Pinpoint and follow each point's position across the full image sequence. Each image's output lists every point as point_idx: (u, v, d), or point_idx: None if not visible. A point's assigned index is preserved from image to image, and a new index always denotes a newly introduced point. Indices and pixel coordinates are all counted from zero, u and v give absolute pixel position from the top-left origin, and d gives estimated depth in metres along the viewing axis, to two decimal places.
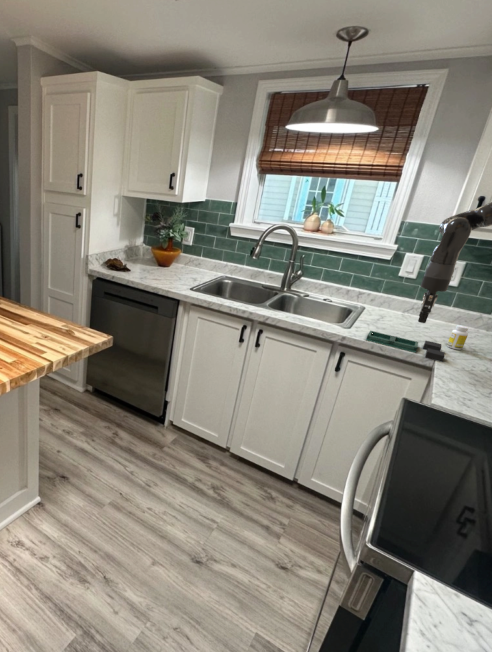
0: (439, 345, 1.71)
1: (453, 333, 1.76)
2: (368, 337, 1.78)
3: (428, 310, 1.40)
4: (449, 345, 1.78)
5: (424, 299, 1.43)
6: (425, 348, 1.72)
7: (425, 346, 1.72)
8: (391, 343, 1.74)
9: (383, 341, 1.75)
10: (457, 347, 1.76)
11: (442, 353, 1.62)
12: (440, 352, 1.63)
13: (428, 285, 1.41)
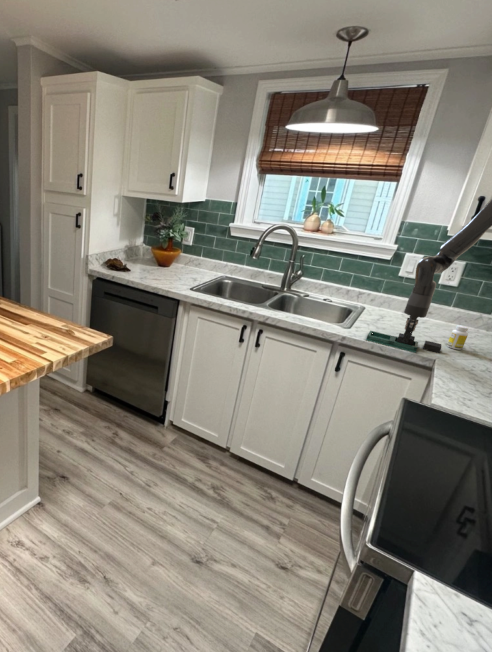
0: (439, 345, 1.71)
1: (453, 333, 1.76)
2: (368, 337, 1.78)
3: (409, 334, 1.68)
4: (449, 345, 1.78)
5: (407, 324, 1.70)
6: (425, 348, 1.72)
7: (425, 346, 1.72)
8: (391, 343, 1.74)
9: (383, 341, 1.75)
10: (457, 347, 1.76)
11: (412, 337, 1.72)
12: (411, 336, 1.73)
13: (410, 312, 1.68)
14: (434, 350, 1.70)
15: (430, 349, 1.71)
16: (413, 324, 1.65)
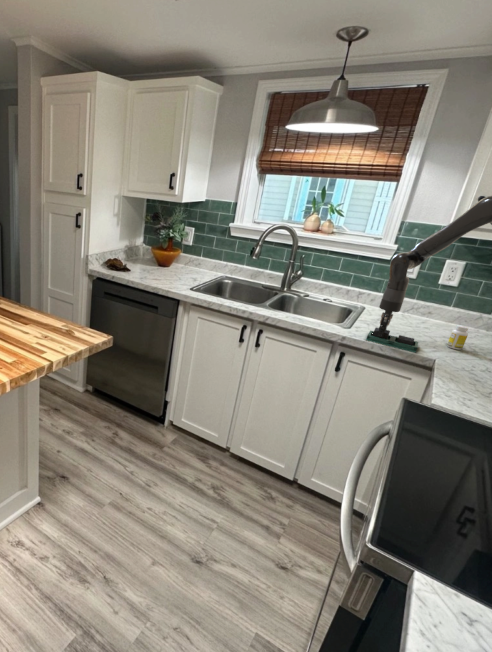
0: (387, 331, 1.77)
1: (453, 333, 1.76)
2: (368, 337, 1.78)
3: (384, 328, 1.73)
4: (449, 345, 1.78)
5: (381, 318, 1.75)
6: (374, 334, 1.78)
7: (374, 333, 1.78)
8: (391, 343, 1.74)
9: (383, 341, 1.75)
10: (457, 347, 1.76)
11: (412, 339, 1.72)
12: (410, 338, 1.73)
13: (384, 307, 1.73)
14: None
15: None
16: (387, 318, 1.71)
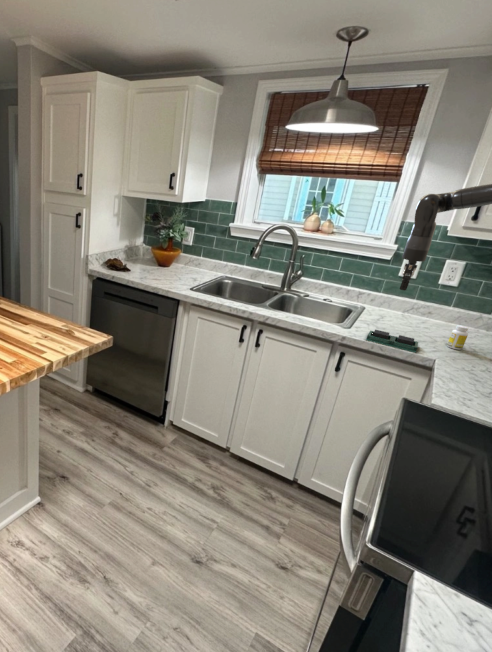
0: (387, 334, 1.77)
1: (453, 333, 1.76)
2: (368, 337, 1.78)
3: (408, 278, 1.56)
4: (449, 345, 1.78)
5: (405, 269, 1.59)
6: None
7: (374, 335, 1.78)
8: (391, 343, 1.74)
9: (383, 341, 1.75)
10: (457, 347, 1.76)
11: (412, 339, 1.72)
12: (410, 338, 1.73)
13: (408, 256, 1.58)
14: None
15: (378, 337, 1.77)
16: (412, 266, 1.55)
